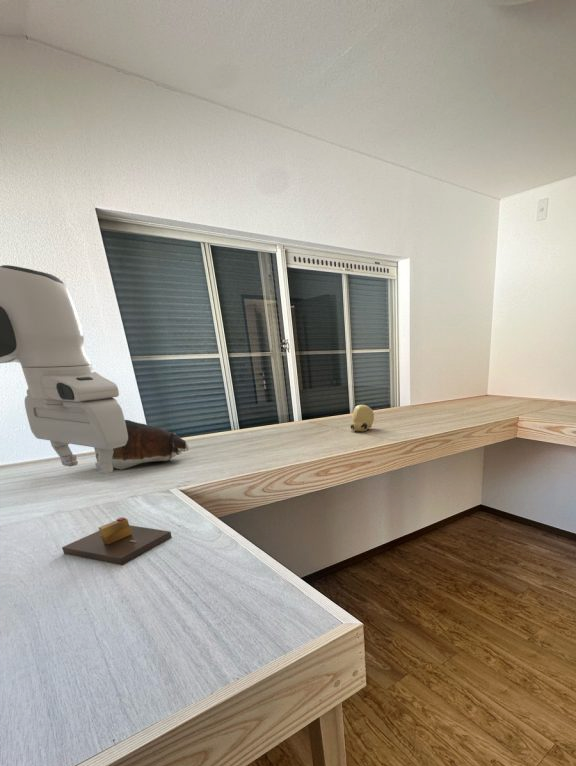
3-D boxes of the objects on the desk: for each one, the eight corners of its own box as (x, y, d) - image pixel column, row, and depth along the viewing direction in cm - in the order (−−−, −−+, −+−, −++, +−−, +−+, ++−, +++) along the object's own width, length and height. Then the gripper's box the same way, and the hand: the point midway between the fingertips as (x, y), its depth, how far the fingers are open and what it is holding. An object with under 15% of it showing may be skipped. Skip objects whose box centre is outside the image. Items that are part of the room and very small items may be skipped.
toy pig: (352, 437, 181) (343, 424, 171) (358, 413, 184) (349, 399, 175) (373, 438, 177) (365, 425, 168) (379, 413, 181) (371, 399, 171)
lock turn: (108, 544, 75) (102, 527, 73) (103, 543, 75) (97, 526, 74) (131, 534, 78) (127, 517, 77) (127, 533, 79) (122, 516, 78)
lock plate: (66, 562, 75) (61, 546, 74) (119, 536, 85) (115, 522, 84) (125, 573, 71) (120, 557, 70) (174, 545, 81) (170, 530, 79)
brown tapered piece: (186, 427, 129) (92, 417, 121) (185, 476, 132) (93, 469, 124) (192, 425, 143) (107, 416, 134) (191, 469, 146) (108, 463, 138)
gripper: (3, 384, 67) (31, 466, 72) (83, 390, 59) (108, 481, 65) (45, 380, 72) (69, 457, 78) (124, 385, 64) (144, 470, 70)
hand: (87, 468), depth 71 cm, fingers open, 8 cm apart
